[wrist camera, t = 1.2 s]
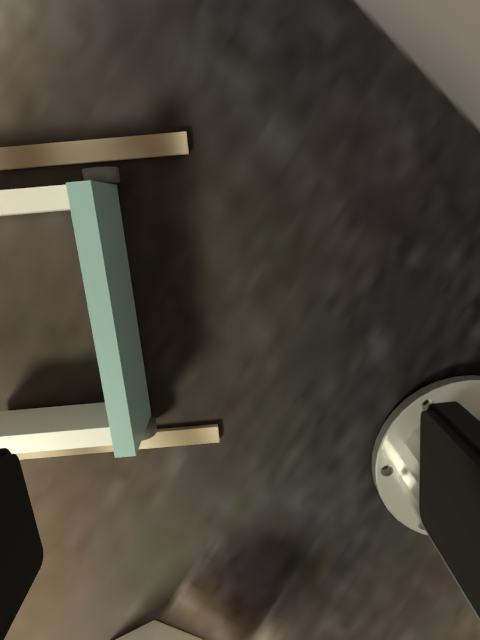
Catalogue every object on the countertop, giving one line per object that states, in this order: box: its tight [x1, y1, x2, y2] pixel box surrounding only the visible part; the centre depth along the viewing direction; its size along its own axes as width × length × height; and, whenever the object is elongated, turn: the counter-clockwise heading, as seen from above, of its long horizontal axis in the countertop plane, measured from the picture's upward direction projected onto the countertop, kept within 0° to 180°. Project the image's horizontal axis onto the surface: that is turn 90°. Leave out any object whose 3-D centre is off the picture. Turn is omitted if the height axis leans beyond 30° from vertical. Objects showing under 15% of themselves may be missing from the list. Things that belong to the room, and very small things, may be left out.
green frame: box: [0, 166, 157, 458], centre depth 25 cm, size 11×17×5 cm, turn 5°
